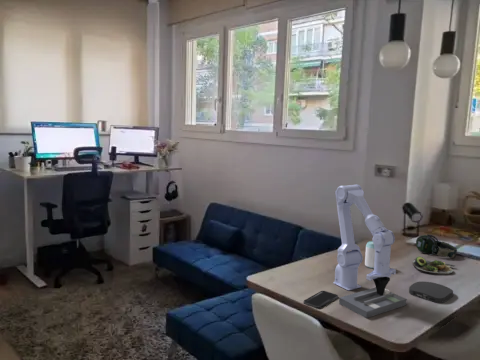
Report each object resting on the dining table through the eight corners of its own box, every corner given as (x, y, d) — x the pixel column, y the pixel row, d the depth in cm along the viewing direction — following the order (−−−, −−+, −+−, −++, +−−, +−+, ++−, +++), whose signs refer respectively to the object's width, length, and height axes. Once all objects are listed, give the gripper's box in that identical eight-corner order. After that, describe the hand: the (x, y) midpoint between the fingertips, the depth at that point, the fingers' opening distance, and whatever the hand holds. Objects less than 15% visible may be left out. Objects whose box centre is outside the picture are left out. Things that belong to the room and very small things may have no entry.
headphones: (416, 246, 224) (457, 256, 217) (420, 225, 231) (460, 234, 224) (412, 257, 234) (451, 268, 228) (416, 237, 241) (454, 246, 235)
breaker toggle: (378, 293, 171) (378, 288, 171) (382, 291, 172) (382, 287, 172) (385, 296, 168) (385, 291, 168) (389, 295, 169) (389, 290, 169)
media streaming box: (455, 295, 177) (456, 288, 177) (440, 305, 168) (441, 298, 167) (421, 284, 188) (421, 278, 188) (405, 293, 178) (405, 287, 178)
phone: (302, 301, 168) (322, 290, 179) (302, 304, 168) (322, 292, 179) (319, 307, 162) (339, 295, 173) (319, 310, 163) (339, 298, 174)
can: (382, 267, 208) (384, 244, 206) (371, 269, 205) (372, 245, 203) (373, 263, 214) (374, 240, 212) (361, 264, 211) (363, 241, 210)
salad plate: (447, 263, 216) (448, 254, 215) (463, 276, 198) (464, 267, 198) (408, 262, 217) (409, 253, 217) (420, 275, 200) (421, 265, 199)
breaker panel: (339, 303, 168) (339, 294, 167) (378, 292, 179) (378, 283, 178) (366, 318, 156) (366, 308, 155) (406, 305, 167) (406, 296, 166)
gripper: (377, 267, 160) (375, 302, 162) (403, 261, 167) (400, 294, 169) (363, 262, 166) (361, 295, 168) (388, 256, 173) (386, 287, 175)
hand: (380, 294), depth 169 cm, fingers closed
